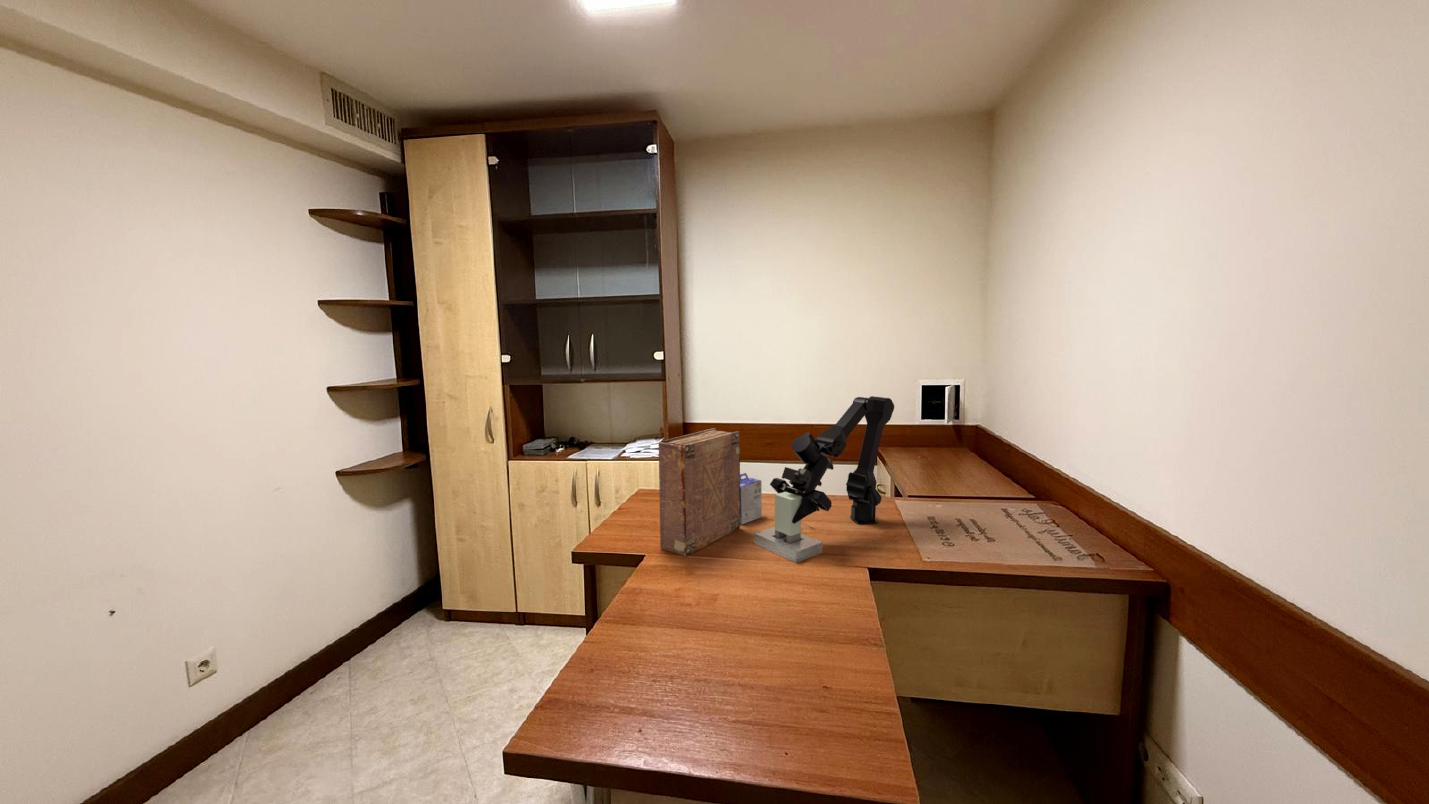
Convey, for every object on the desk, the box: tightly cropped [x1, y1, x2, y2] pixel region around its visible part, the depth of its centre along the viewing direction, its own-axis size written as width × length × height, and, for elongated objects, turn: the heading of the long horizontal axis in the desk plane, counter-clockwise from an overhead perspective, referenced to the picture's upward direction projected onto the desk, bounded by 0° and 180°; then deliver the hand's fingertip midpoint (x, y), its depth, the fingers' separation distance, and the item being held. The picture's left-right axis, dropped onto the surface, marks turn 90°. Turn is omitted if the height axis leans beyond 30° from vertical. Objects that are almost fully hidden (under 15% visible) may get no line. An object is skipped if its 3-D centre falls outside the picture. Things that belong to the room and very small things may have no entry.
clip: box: [774, 492, 802, 544], centre depth 144 cm, size 4×6×14 cm, turn 38°
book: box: [658, 427, 741, 558], centre depth 150 cm, size 25×9×30 cm, turn 143°
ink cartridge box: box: [740, 472, 763, 526], centre depth 167 cm, size 10×6×14 cm, turn 134°
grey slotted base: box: [753, 526, 823, 564], centre depth 145 cm, size 10×16×3 cm, turn 38°
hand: (784, 519), depth 143 cm, fingers closed on clip, 6 cm apart
